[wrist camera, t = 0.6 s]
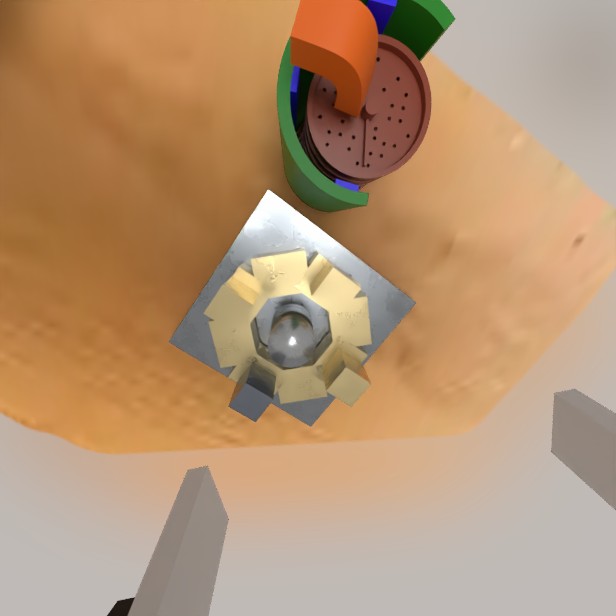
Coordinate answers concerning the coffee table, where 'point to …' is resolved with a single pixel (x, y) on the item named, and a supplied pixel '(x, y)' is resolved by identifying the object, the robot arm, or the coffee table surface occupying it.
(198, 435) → the coffee table surface
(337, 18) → the motor
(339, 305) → the ring nut
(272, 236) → the flange plate
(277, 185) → the coffee table surface
